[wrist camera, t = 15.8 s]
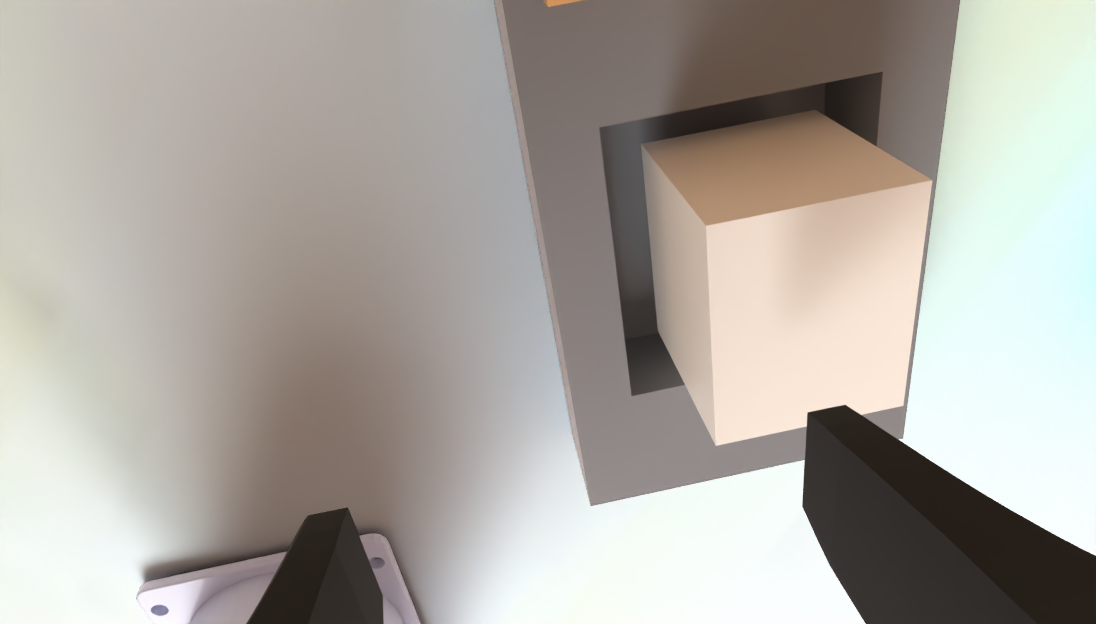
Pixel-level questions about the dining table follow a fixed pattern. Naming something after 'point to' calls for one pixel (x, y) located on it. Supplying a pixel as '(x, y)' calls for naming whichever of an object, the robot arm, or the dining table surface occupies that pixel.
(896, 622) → the robot arm
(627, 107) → the grey recessed box
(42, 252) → the dining table surface
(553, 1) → the shutter
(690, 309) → the beige rectangular block
